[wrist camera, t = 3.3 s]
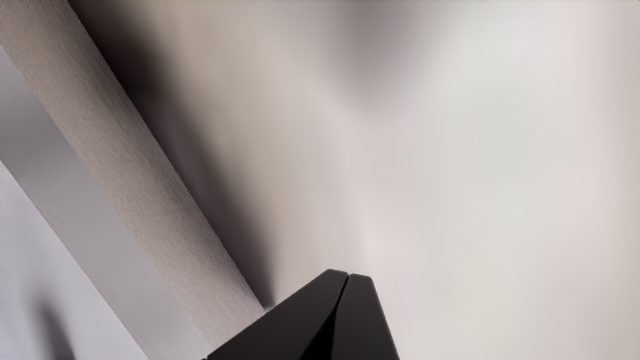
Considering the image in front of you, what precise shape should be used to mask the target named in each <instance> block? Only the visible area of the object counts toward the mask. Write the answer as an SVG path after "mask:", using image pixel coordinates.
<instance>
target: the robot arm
mask: <svg viewBox="0 0 640 360" xmlns="http://www.w3.org/2000/svg"><path fill="white" fill-rule="evenodd" d="M201 360H400V358H399V356H398V353H397V350H396V347H395V344H394V341H393V338H392V335H391V332H390V330H389V327H388V324H387V321H386V318H385V315H384V312H383V309H382V307H381V304H380V301H379V298H378V295H377V292H376V289H375V286H374V283H373V281H372V279H371V277H369V276H364V275H359V274H350V275H349V274H348V273H347V272H344V271H339V270H333V269H328V270H326V271H325V272H323V273H322V274H320V275H319V276H318V277H316V278H315V279H313V280H312V281H311V282H309V283H308V284H306V285H305V286H304V287H302V288H301V289H299V290H298V291H297V292H295V293H294V294H292V295H291V296H290V297H288V298H287V299H285V300H284V301H283V302H281V303H280V304H278V305H277V306H276V307H274V308H273V309H271V310H270V311H269V312H267V313H266V314H264V315H263V316H262V317H260V318H259V319H258V320H256V321H255V322H253V323H252V324H251V325H249V326H248V327H246V328H245V329H244V330H242V331H241V332H239V333H238V334H237V335H235V336H234V337H232V338H231V339H230V340H228V341H227V342H225V343H224V344H223V345H221V346H220V347H218V348H217V349H216V350H214V351H213V352H211V353H210V354H209V355H207V359H206V358H203V359H201Z"/></svg>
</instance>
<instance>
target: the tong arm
mask: <svg viewBox="0 0 640 360" xmlns="http://www.w3.org/2000/svg"><path fill="white" fill-rule="evenodd" d="M0 160H1V161H2V162H3V164H4V165H5V166H6V168H7V169H8V170H9V172H10V173H11V174H12V176H13V177H14V178H15V180H16V181H17V182H18V184H19V185H20V186H21V188H22V189H23V190H24V192H25V193H26V194H27V196H28V197H29V199H30V200H31V201H32V203H33V204H34V205H35V207H36V208H37V209H38V211H39V212H40V213H41V215H42V216H43V217H44V219H45V220H46V221H47V223H48V224H49V225H50V227H51V228H52V229H53V231H54V232H55V233H56V235H57V236H58V237H59V239H60V240H61V242H62V243H63V244H64V246H65V247H66V248H67V250H68V251H69V252H70V254H71V255H72V256H73V258H74V259H75V260H76V262H77V263H78V264H79V266H80V267H81V268H82V270H83V271H84V272H85V274H86V275H87V276H88V278H89V279H90V280H91V282H92V283H93V285H94V286H95V287H96V289H97V290H98V291H99V293H100V294H101V295H102V297H103V298H104V299H105V301H106V302H107V303H108V305H109V306H110V307H111V309H112V310H113V311H114V313H115V314H116V315H117V317H118V318H119V319H120V321H121V322H122V323H123V325H124V326H125V328H126V329H127V330H128V332H129V333H130V334H131V336H132V337H133V338H134V340H135V341H136V342H137V344H138V345H139V346H140V348H141V349H142V350H143V352H144V353H145V354H146V356H147V357H148V358H149V360H201V359H203V358H206V359H207V355H209V354H210V353H211V352H213V351H214V350H216V349H217V348H218V347H220V346H221V345H223V344H224V343H225V342H227V341H228V340H230V339H231V338H232V337H234V336H235V335H237V334H238V333H239V332H241V331H242V330H244V329H245V328H246V327H248V326H249V325H251V324H252V323H253V322H255V321H256V320H258V319H259V318H260V317H262V316H263V315H264V314H266V312H265V310H264V309H263V307H262V306H261V304H260V303H259V301H258V299H257V298H256V296H255V295H254V293H253V292H252V290H251V288H250V287H249V285H248V284H247V282H246V281H245V279H244V277H243V276H242V274H241V273H240V271H239V270H238V268H237V266H236V265H235V263H234V262H233V260H232V259H231V257H230V255H229V254H228V252H227V251H226V249H225V248H224V246H223V244H222V243H221V241H220V240H219V238H218V237H217V235H216V234H215V232H214V230H213V229H212V227H211V226H210V224H209V223H208V221H207V219H206V218H205V216H204V215H203V213H202V212H201V210H200V208H199V207H198V205H197V204H196V202H195V201H194V199H193V197H192V196H191V194H190V193H189V191H188V190H187V188H186V186H185V185H184V183H183V182H182V180H181V179H180V177H179V175H178V174H177V172H176V171H175V169H174V168H173V166H172V164H171V163H170V161H169V160H168V158H167V157H166V155H165V154H164V152H163V150H162V149H161V147H160V146H159V144H158V143H157V141H156V139H155V138H154V136H153V135H152V133H151V132H150V130H149V128H148V127H147V125H146V124H145V122H144V121H143V119H142V117H141V116H140V114H139V113H138V111H137V110H136V108H135V106H134V105H133V103H132V102H131V100H130V99H129V97H128V95H127V94H126V92H125V91H124V89H123V88H122V86H121V84H120V83H119V81H118V80H117V78H116V77H115V75H114V74H113V72H112V70H111V69H110V67H109V66H108V64H107V63H106V61H105V59H104V58H103V56H102V55H101V53H100V52H99V50H98V48H97V47H96V45H95V44H94V42H93V41H92V39H91V37H90V36H89V34H88V33H87V31H86V30H85V28H84V26H83V25H82V23H81V22H80V20H79V19H78V17H77V15H76V14H75V12H74V11H73V9H72V8H71V6H70V5H69V3H68V1H67V0H0Z"/></svg>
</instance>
